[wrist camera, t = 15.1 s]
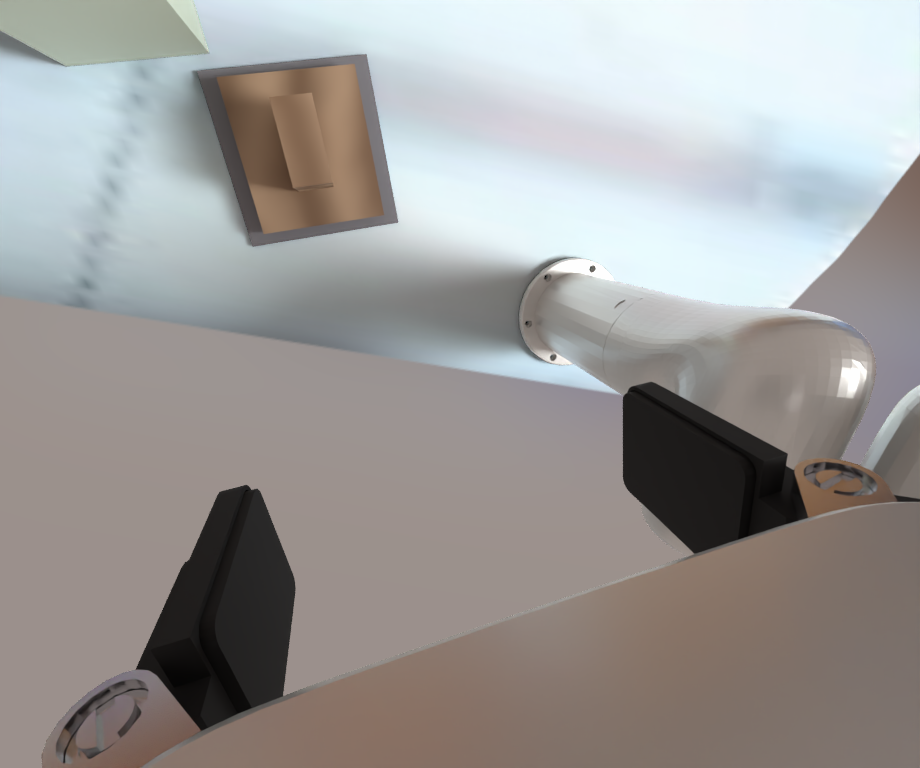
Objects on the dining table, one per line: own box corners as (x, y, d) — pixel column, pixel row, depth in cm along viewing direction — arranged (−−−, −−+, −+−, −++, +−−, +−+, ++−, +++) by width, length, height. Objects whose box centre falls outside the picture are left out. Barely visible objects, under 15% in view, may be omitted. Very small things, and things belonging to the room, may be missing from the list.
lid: (354, 70, 39) (357, 37, 32) (382, 215, 43) (390, 215, 36) (222, 83, 37) (193, 51, 30) (267, 233, 42) (251, 237, 34)
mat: (366, 55, 39) (366, 54, 39) (397, 222, 44) (398, 222, 44) (198, 72, 37) (196, 70, 36) (253, 246, 42) (252, 246, 42)
